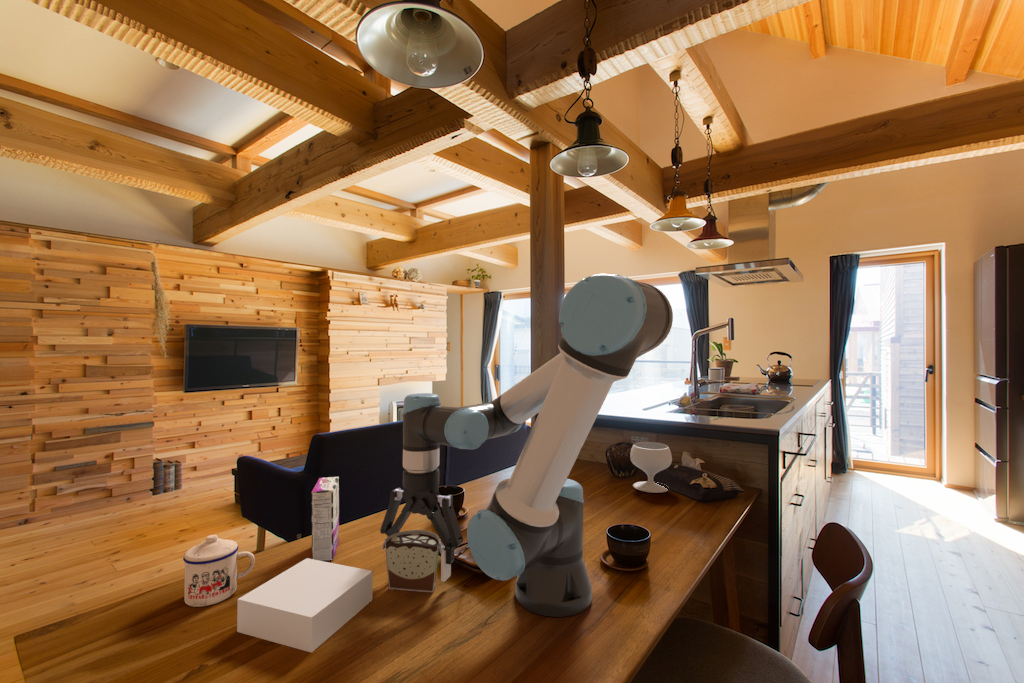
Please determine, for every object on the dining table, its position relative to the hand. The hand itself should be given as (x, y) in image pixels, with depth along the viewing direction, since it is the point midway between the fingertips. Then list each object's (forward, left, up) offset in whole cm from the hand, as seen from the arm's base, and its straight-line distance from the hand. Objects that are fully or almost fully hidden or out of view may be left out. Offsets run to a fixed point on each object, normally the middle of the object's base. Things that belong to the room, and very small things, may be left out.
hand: (420, 573), depth 95 cm
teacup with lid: (+35, +18, -2) cm, 39 cm away
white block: (+13, +17, -3) cm, 22 cm away
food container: (+1, 0, -2) cm, 3 cm away
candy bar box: (+29, -4, -2) cm, 29 cm away
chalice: (-40, -84, -2) cm, 93 cm away
